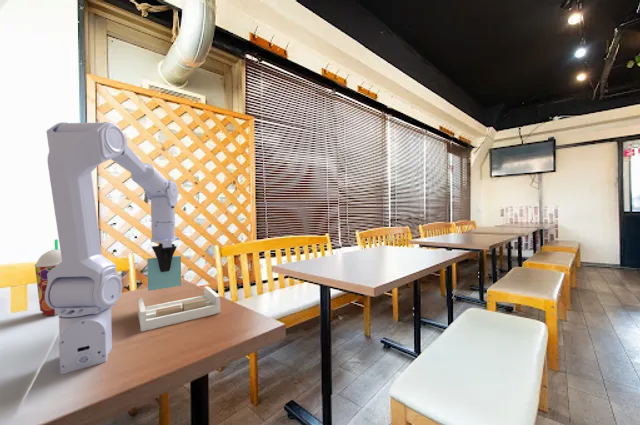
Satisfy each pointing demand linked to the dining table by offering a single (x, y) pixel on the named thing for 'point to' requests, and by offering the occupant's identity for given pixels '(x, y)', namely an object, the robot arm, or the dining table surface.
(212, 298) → the rack
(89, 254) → the robot arm
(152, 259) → the teal square slab
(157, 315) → the offcut
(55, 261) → the smoothie
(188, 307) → the offcut
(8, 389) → the dining table surface
